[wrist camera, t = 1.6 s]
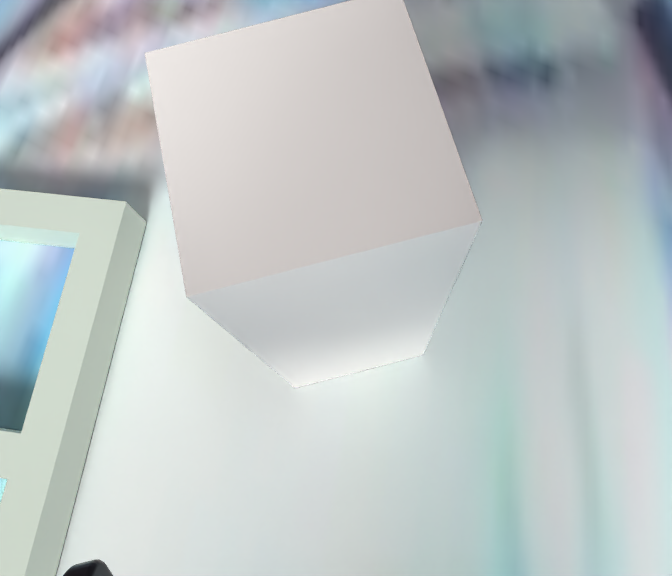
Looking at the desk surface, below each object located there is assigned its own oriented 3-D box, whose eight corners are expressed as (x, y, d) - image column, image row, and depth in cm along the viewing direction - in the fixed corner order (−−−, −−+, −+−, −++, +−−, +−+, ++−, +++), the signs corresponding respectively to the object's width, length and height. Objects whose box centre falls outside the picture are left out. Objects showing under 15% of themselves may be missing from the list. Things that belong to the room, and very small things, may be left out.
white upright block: (423, 355, 21) (481, 220, 9) (294, 388, 21) (186, 296, 9) (387, 236, 23) (398, -12, 11) (268, 267, 23) (144, 53, 11)
